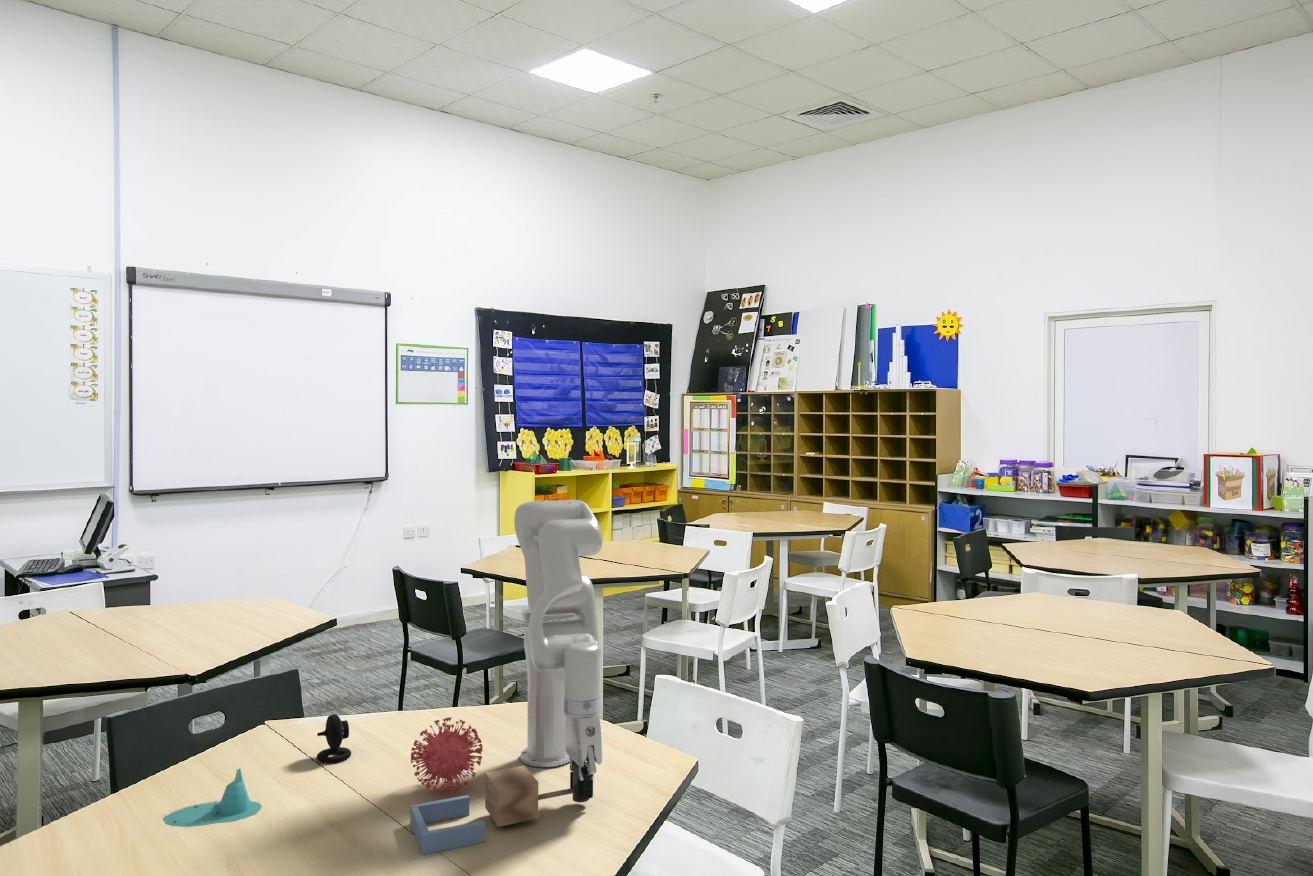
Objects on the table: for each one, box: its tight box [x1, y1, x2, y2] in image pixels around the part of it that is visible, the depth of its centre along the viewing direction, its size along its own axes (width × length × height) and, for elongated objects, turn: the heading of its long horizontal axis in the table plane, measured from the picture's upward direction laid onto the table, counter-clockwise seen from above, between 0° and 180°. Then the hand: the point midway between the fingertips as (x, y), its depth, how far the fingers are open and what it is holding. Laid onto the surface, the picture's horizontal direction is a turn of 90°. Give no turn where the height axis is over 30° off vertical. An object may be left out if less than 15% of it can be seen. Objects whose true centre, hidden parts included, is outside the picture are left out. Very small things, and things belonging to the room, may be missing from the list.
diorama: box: [162, 768, 263, 828], centre depth 167 cm, size 12×20×9 cm, turn 105°
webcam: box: [316, 714, 352, 764], centre depth 195 cm, size 8×8×10 cm
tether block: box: [484, 761, 590, 828], centre depth 167 cm, size 20×9×7 cm, turn 116°
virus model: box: [410, 717, 483, 793], centre depth 178 cm, size 15×15×15 cm
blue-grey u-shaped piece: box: [409, 794, 486, 856], centre depth 159 cm, size 11×13×4 cm
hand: (581, 793), depth 171 cm, fingers closed on tether block, 3 cm apart
